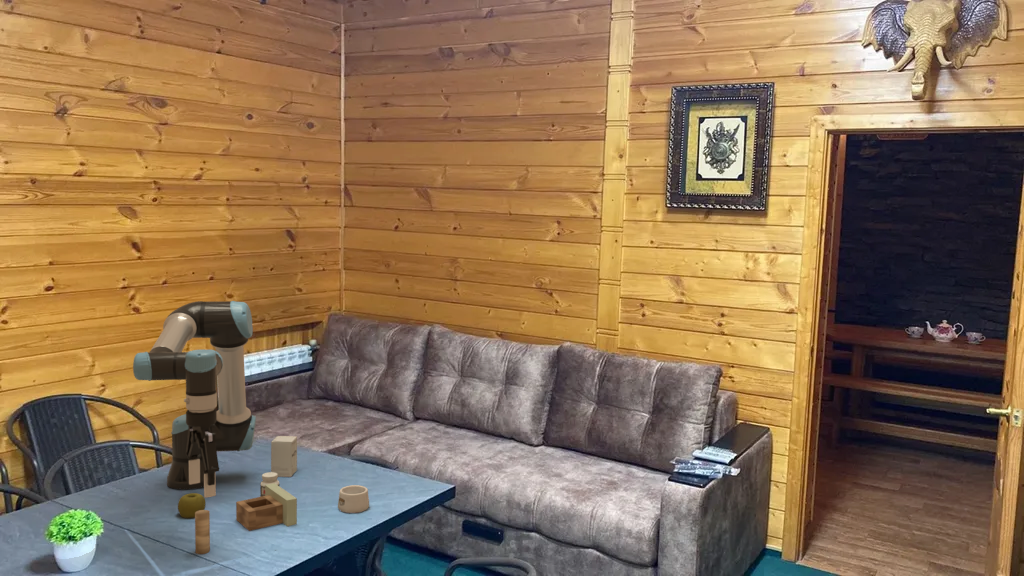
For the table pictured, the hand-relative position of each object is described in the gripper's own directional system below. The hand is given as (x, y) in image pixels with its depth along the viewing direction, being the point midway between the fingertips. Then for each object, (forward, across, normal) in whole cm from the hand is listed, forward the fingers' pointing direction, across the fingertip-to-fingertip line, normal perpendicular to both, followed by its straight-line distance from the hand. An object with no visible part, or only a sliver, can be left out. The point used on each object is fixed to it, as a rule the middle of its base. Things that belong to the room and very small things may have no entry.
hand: (202, 489), depth 211 cm
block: (+17, -11, +20) cm, 28 cm away
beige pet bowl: (+19, -9, +49) cm, 53 cm away
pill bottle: (+18, -25, +29) cm, 42 cm away
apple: (+18, -28, +6) cm, 34 cm away
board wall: (+18, -11, +14) cm, 25 cm away
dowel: (+18, 0, 0) cm, 18 cm away
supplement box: (+18, -51, +45) cm, 70 cm away
